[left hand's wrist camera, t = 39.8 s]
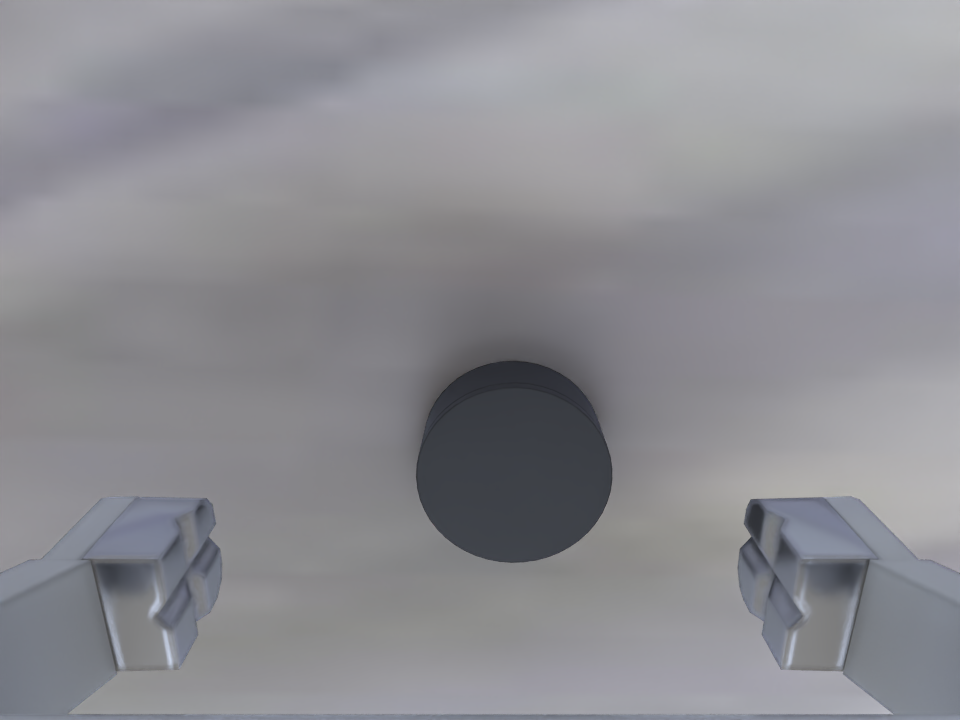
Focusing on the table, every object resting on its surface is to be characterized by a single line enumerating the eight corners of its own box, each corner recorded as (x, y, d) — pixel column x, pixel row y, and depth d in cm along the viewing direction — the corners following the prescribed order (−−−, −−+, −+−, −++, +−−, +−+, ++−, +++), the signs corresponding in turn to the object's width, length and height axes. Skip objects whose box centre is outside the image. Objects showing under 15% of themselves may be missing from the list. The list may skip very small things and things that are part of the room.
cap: (389, 456, 18) (377, 492, 16) (498, 324, 17) (498, 347, 15) (524, 550, 19) (527, 595, 17) (637, 431, 17) (653, 465, 16)
